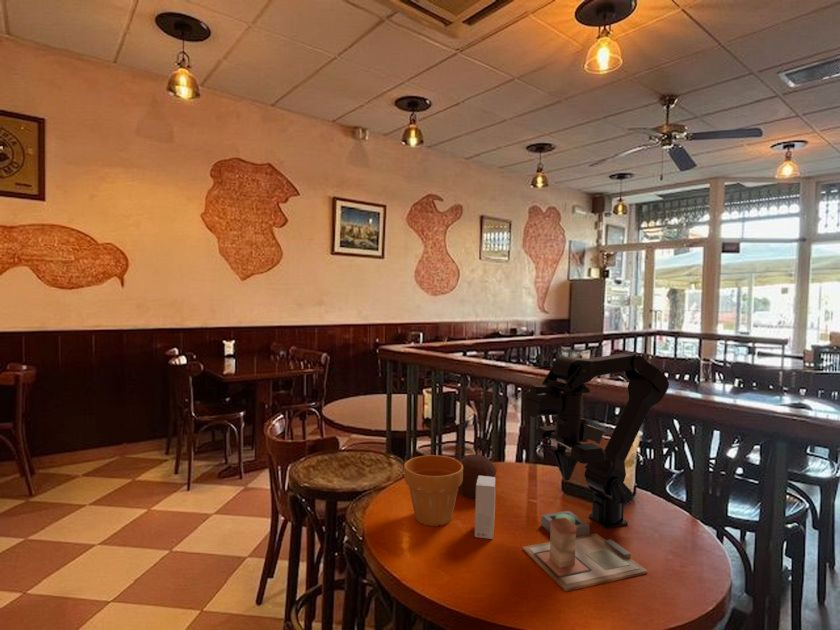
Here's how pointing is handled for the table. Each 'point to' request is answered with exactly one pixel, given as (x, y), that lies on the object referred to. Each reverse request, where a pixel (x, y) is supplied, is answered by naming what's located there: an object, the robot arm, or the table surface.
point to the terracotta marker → (562, 542)
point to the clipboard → (587, 563)
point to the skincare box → (485, 507)
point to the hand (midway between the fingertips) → (566, 479)
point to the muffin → (474, 473)
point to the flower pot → (433, 487)
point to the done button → (566, 517)
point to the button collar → (581, 526)
